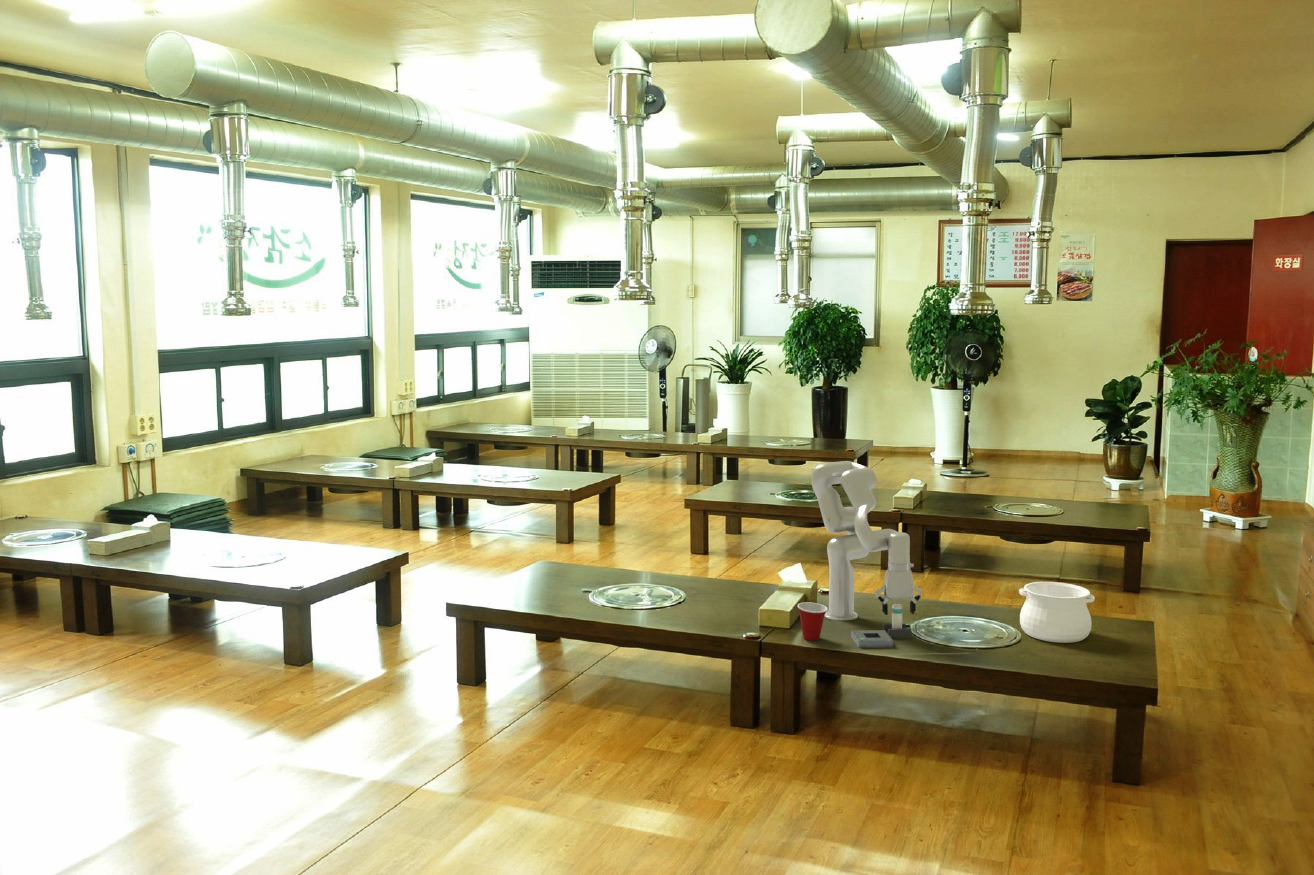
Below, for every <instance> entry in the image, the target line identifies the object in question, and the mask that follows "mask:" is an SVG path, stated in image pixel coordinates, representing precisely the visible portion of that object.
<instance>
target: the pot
mask: <svg viewBox="0 0 1314 875" xmlns="http://www.w3.org/2000/svg"><path fill="white" fill-rule="evenodd" d="M1018 593H1019V594H1020V596H1023V597H1025V601H1024V603H1023V606H1022V607H1021V610H1020V612H1019V613H1020V614H1019V624H1020V627H1021V629H1022V631H1023V632H1024V633H1025V634H1026V635H1028V636H1029V637H1032V638H1034V639H1036V640H1040V641H1045V642H1050V643H1059V644H1060V643H1064V644H1065V643H1066V644H1067V643H1071V644H1072V643H1077V642H1081V641H1083V640H1085V639H1086V638H1087V637H1088V636H1089V634H1090V633H1091V630H1092V623H1093V622H1092V617H1091V614H1090V611H1089V608H1088V605H1087V604H1088V603H1093V602H1095V599H1096V598H1095V595H1093V594H1091V592H1090V590H1089V589H1087V588H1085V587H1083V586H1081V585H1076V584H1072V583H1067V582H1057V581H1033V582H1029V583H1026V584H1025V585H1024V586H1023V587H1022V588H1019V590H1018Z"/></svg>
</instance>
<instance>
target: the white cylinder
mask: <svg viewBox="0 0 1314 875" xmlns="http://www.w3.org/2000/svg"><path fill="white" fill-rule="evenodd" d="M891 624H892V629H902V624H903V604H901V603H894V604H892V606H891Z"/></svg>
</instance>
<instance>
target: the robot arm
mask: <svg viewBox="0 0 1314 875" xmlns="http://www.w3.org/2000/svg"><path fill="white" fill-rule="evenodd" d="M810 483H811V487H812V490H813V493H814V494H815V497H816V500H817V502H818V506H819V509H820V513H821V517H822V521H823V524H824V527H825V529H826V531H827V532H828V533H830V534H840V533H841V534H842V533H846V532H847V534H845V535H839V536H835V537H833V538H831V539H830V540H829V541H828V543H827V546H826V552H827V559H828V567H829V568H828V569H829V571H828V572H829V573H828V574H829V577H828V578H829V581H828V610H827V611H826V613H825V615H824V618H826V619H828V620H833V621H835V620H836V621H851V620H857V619H858V615H859V614H858V613H857V612H855V568H854V567H853V565H852V563H851V561H853V560H859V559H862V558H865V557H868V555H869V554H870V553H873V552H880V551H887V552H888V554H887V557H888V558H887V559H888V560H887V561H888V562H887V564H888V565H887V569H886V570H885V574H884V580H883V587H881V588H879V589H877V590H874V594H875V596H876V598H877V599H878V600H879V601H880V602H881V604H882V605H881V606H882V607H881V608H882V609H881V611H882V613H883V614H884V616H887V615H888V612H889V611H888V610H889V608H888V606H889V605H888V601H890V600H903V599H905V600H908V599H910V602H909V612H910V614H912V615H915V612H916V604H917V603H918V602H919V600H920V599H921V597H922V595H923V593H924V590H923V589H921V588H919V587H917V586H915V585H914V579H913V573H912V570H911V568H914V567H915V566H914V565H915V564H914V563H911V561H910V560H911V559H910V557H911V556H910V553H911V552H910V551H911V550H910V549H911V548H910V546H911V541H910V540H911V539H910V538H911V537H910V535H909V534H908V533H907V532H903V531H902V532H900V531H897V530H894V529H892V528H883V529H876V530H873V529H872V528H871V526H870V524H869V522H868V513H870V512H872V510H874V509H875V508H876V506H877V500H876V498H875V496H874V494H873V493H872V491H871V490H873V489H874V488H875V487H877V486H876V485H877V484H878V478H877V475H876V473H875V472H874V470H872V469H871V468H870V467H868V466H866V465H862V464H859V463H856V462H854V461H850V460H845V461H834V462H825V463H824V462H823V463H821V464H818V465H817V466H816V467H814V469H813V471H812V472H811V476H810ZM839 484H840V485H841V486H842V488H843V490H844V492H845V493H846V494H845V495H846V496H847V498H848V499H849V502H850V504H851V505H852V506H845V507H844V505H843V503H842V500H841V496H840V494H839V493H838V491H837V490H836V489H835V488H834V487H833V486H832V485H839ZM915 592H917V594H916V595H915V594H914V593H915ZM881 594H883V595H884V596H883V597H882V596H881ZM914 595H915V596H914Z"/></svg>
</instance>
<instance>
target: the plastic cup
mask: <svg viewBox="0 0 1314 875" xmlns="http://www.w3.org/2000/svg"><path fill="white" fill-rule="evenodd" d="M797 609H798V613H799V618H800V628H801V630H802V637H803V639H804V640H806V641H811V642H812V641H818V640H820V638H821V632H822V628H823V624H824V618H825V613H826V611H828V610H829V607H827V606H826V605H824V604H821V603H819V602H817V603H816V602H810V601H809V602H808V601H805V602H800V603H798V604H797Z"/></svg>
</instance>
